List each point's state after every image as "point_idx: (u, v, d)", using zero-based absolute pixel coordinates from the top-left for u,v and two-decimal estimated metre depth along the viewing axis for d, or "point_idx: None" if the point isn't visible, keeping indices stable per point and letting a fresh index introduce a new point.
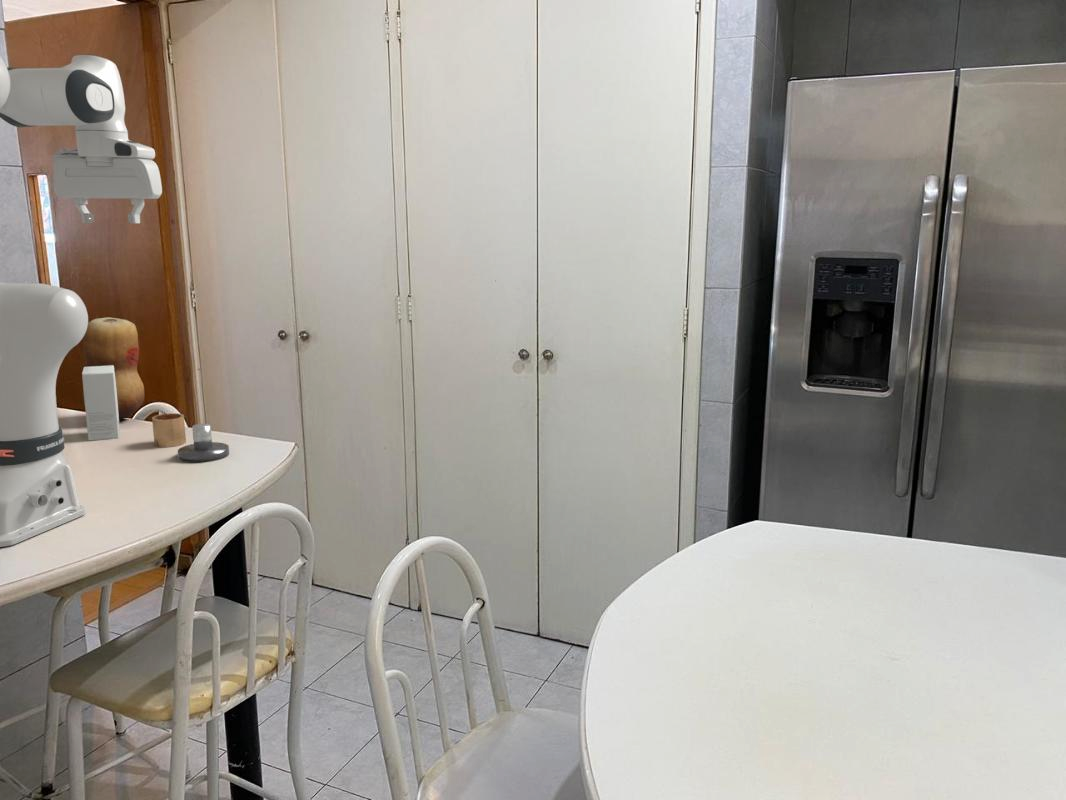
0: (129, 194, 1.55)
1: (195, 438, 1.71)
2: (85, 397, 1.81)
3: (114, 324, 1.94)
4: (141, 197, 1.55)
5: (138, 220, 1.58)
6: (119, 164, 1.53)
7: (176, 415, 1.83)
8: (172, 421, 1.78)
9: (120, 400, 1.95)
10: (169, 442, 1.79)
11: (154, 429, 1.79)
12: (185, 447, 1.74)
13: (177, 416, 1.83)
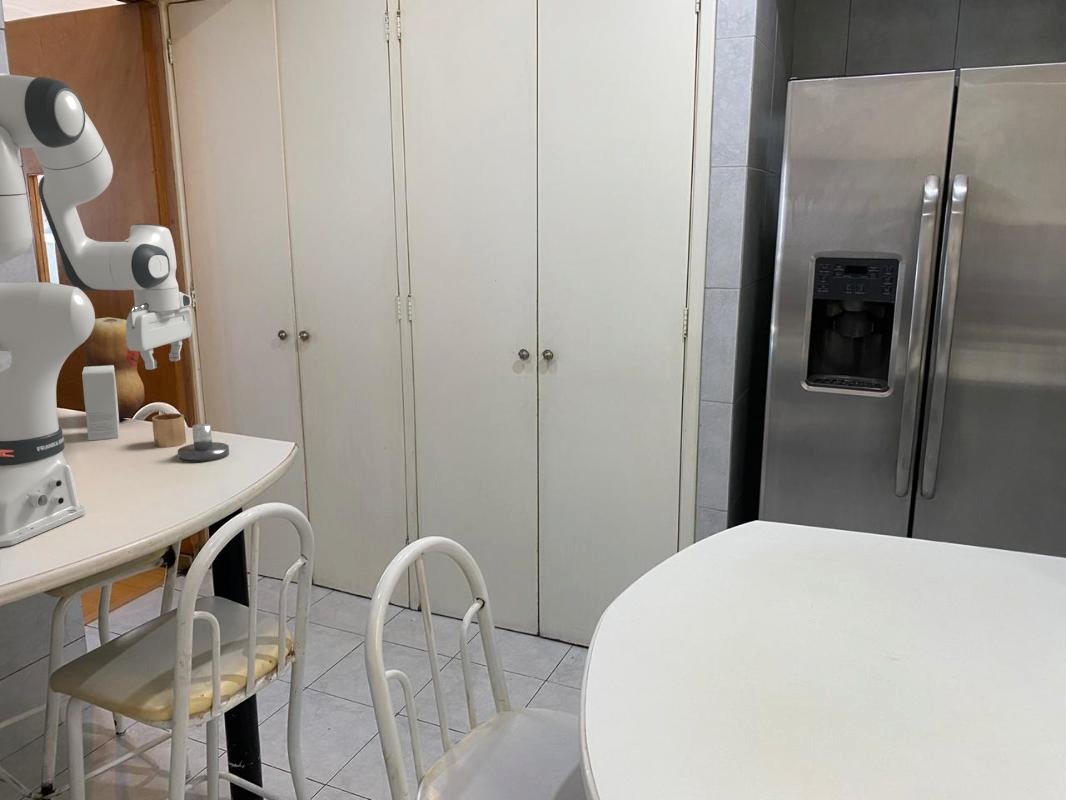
0: (182, 336, 1.82)
1: (195, 438, 1.71)
2: (85, 397, 1.81)
3: (114, 324, 1.94)
4: (186, 337, 1.84)
5: None
6: (180, 312, 1.80)
7: (176, 415, 1.83)
8: (172, 421, 1.78)
9: (120, 400, 1.95)
10: (169, 442, 1.79)
11: (154, 429, 1.79)
12: (185, 447, 1.74)
13: (177, 416, 1.83)
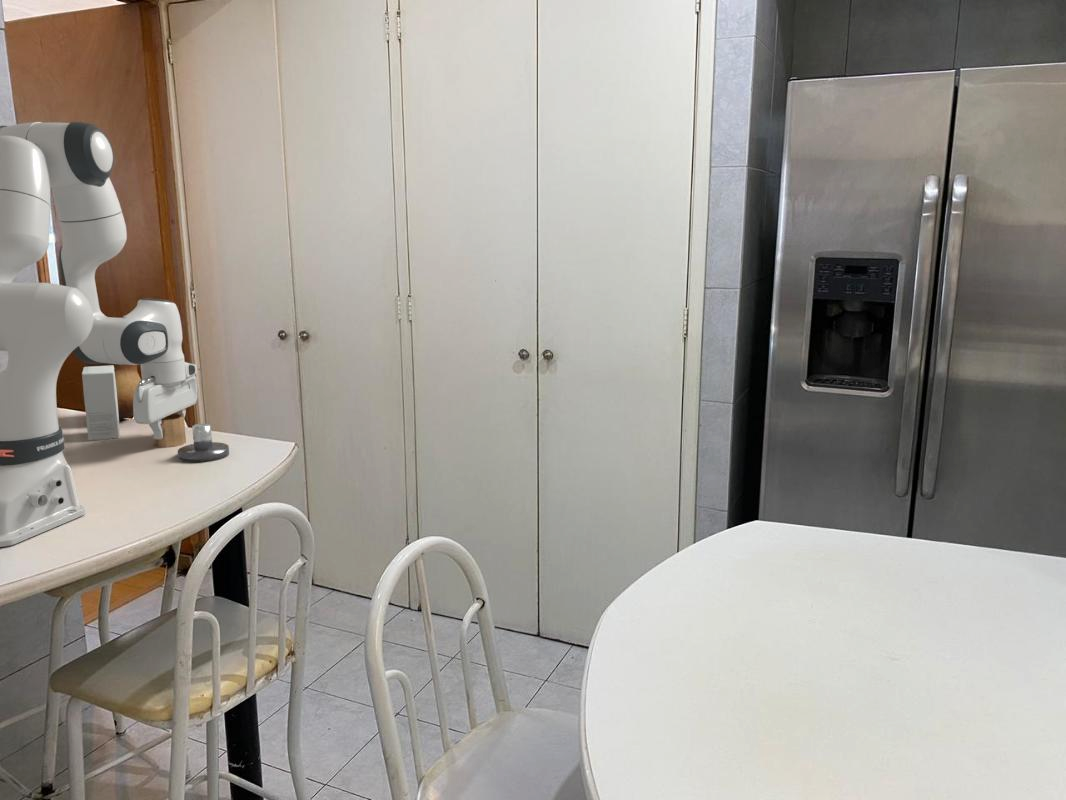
0: (187, 404, 1.86)
1: (195, 438, 1.71)
2: (85, 397, 1.81)
3: None
4: (192, 404, 1.88)
5: None
6: (186, 381, 1.83)
7: (176, 415, 1.83)
8: (172, 421, 1.78)
9: (120, 400, 1.95)
10: (169, 442, 1.79)
11: None
12: (185, 447, 1.74)
13: (177, 416, 1.83)
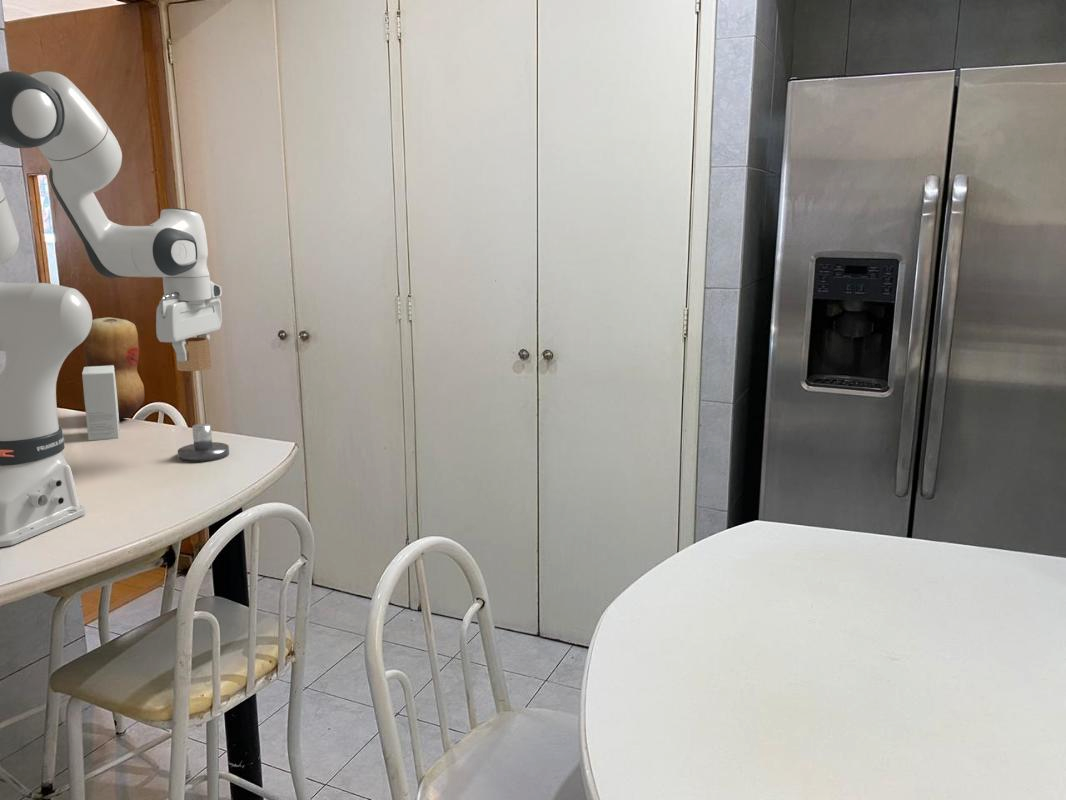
0: (211, 329, 1.73)
1: (195, 438, 1.71)
2: (85, 397, 1.81)
3: (114, 324, 1.94)
4: (216, 330, 1.75)
5: None
6: (210, 303, 1.71)
7: (200, 339, 1.71)
8: (197, 343, 1.66)
9: (120, 400, 1.95)
10: (194, 366, 1.66)
11: None
12: (185, 447, 1.74)
13: (201, 340, 1.71)
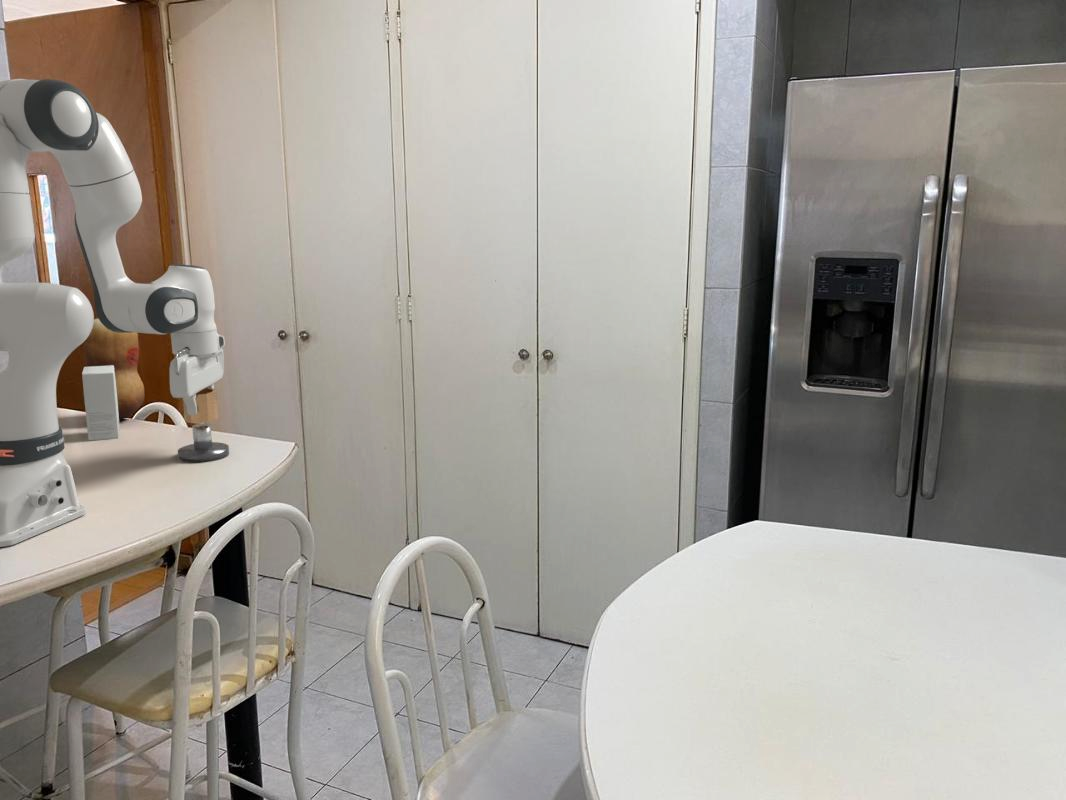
0: (216, 378, 1.75)
1: (195, 438, 1.71)
2: (85, 397, 1.81)
3: None
4: (219, 379, 1.77)
5: None
6: (216, 354, 1.73)
7: (206, 390, 1.73)
8: (206, 395, 1.68)
9: (120, 400, 1.95)
10: (203, 418, 1.69)
11: None
12: (185, 447, 1.74)
13: (207, 391, 1.73)
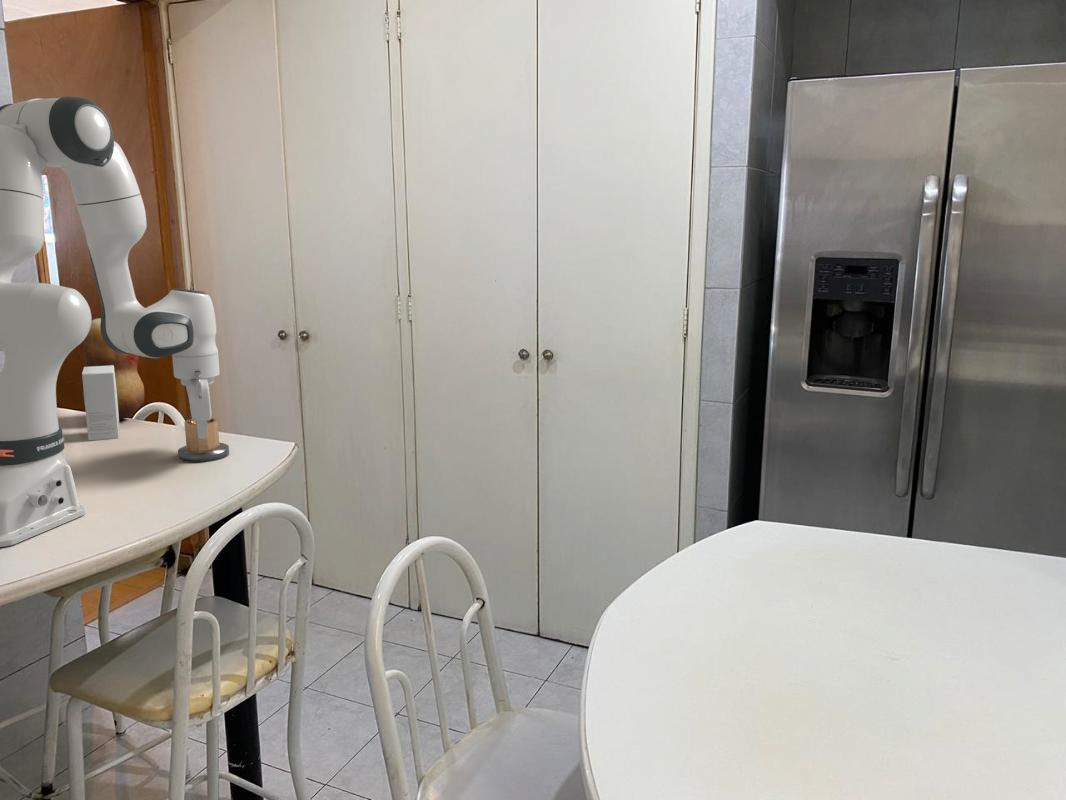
0: None
1: None
2: (85, 397, 1.81)
3: None
4: None
5: None
6: None
7: None
8: (213, 424, 1.70)
9: (120, 400, 1.95)
10: (211, 447, 1.71)
11: (192, 435, 1.69)
12: (185, 447, 1.74)
13: None
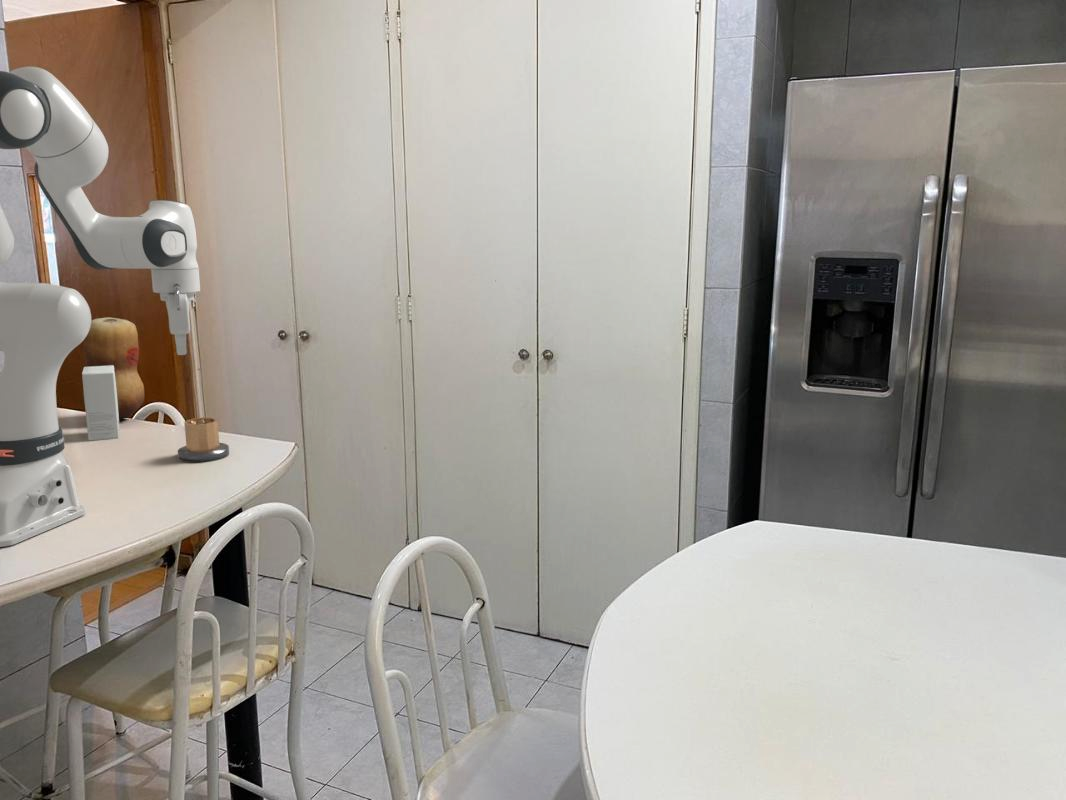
0: None
1: None
2: (85, 397, 1.81)
3: (114, 324, 1.94)
4: None
5: None
6: None
7: (203, 419, 1.74)
8: (213, 424, 1.70)
9: (120, 400, 1.95)
10: (211, 447, 1.71)
11: (192, 435, 1.69)
12: (185, 447, 1.74)
13: (204, 420, 1.74)
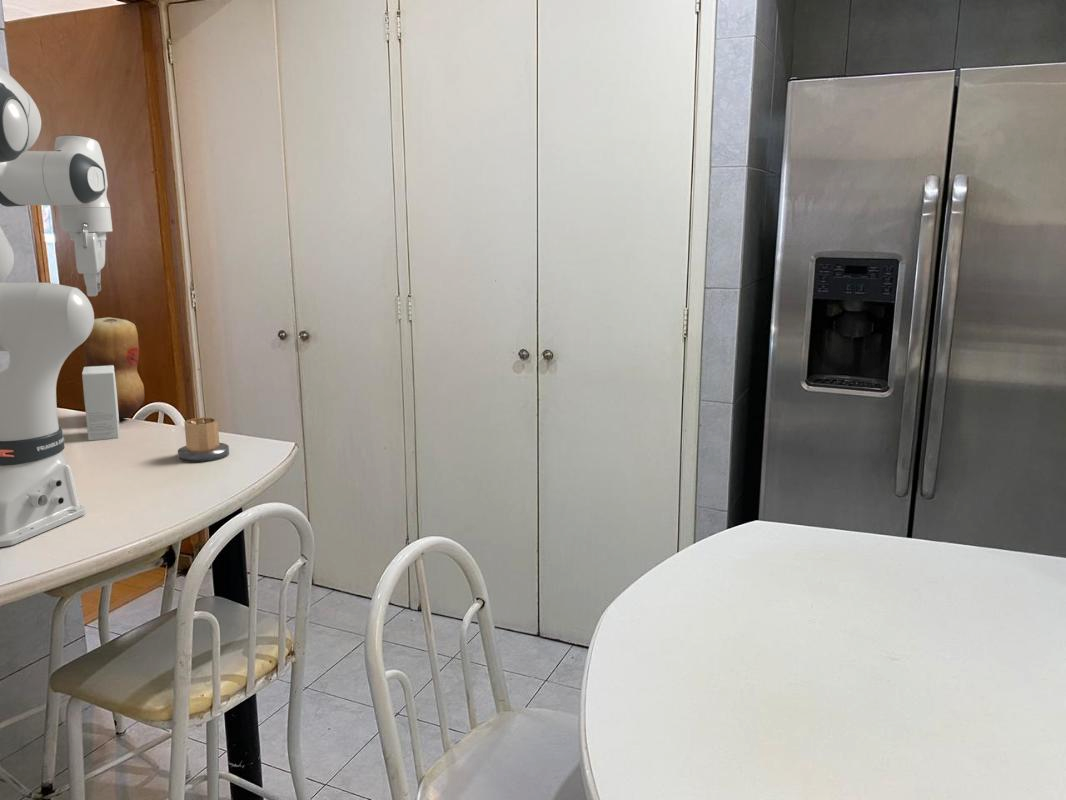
0: (103, 264, 1.68)
1: None
2: (85, 397, 1.81)
3: (114, 324, 1.94)
4: None
5: None
6: None
7: (203, 419, 1.74)
8: (213, 424, 1.70)
9: (120, 400, 1.95)
10: (211, 447, 1.71)
11: (192, 435, 1.69)
12: (185, 447, 1.74)
13: (204, 420, 1.74)
